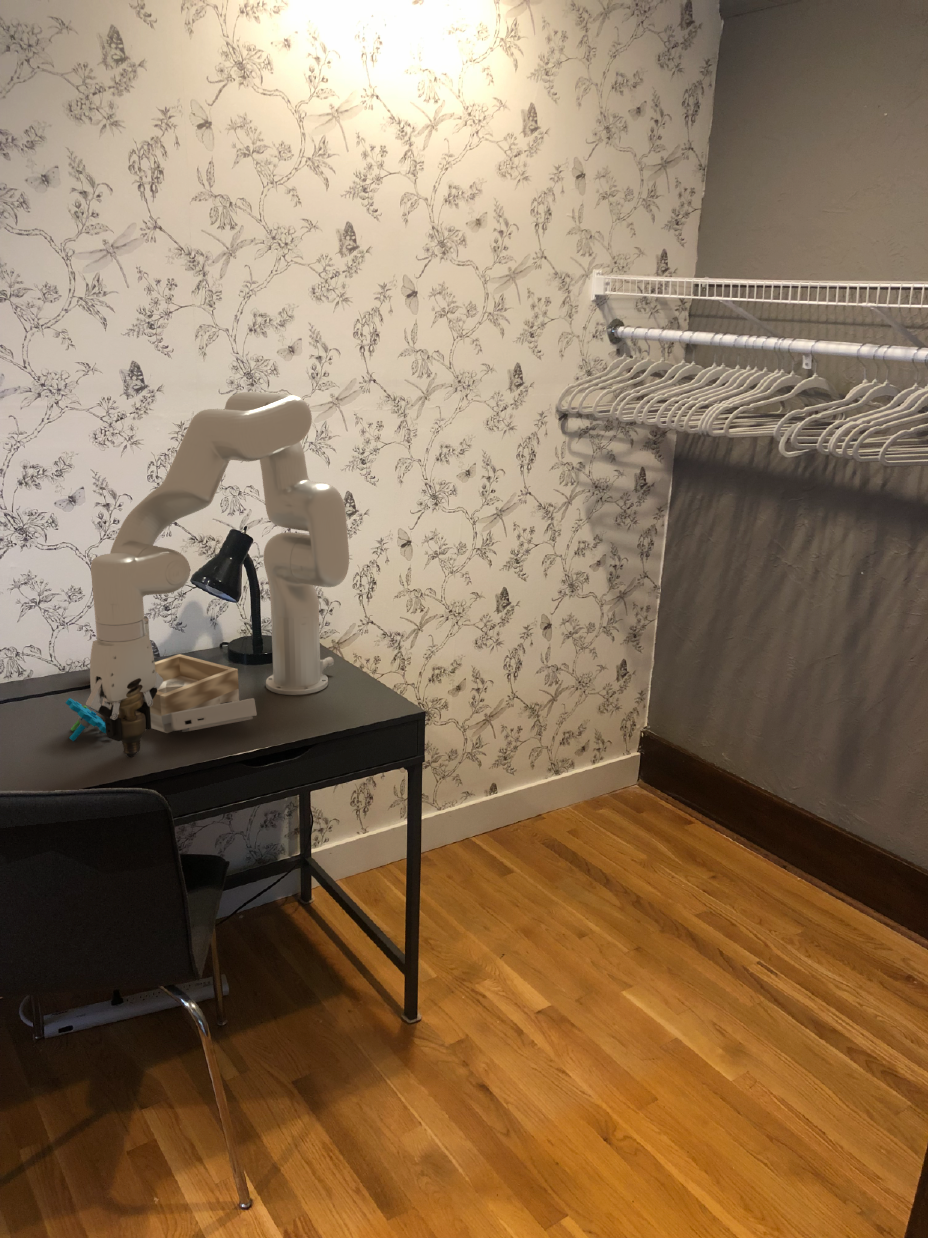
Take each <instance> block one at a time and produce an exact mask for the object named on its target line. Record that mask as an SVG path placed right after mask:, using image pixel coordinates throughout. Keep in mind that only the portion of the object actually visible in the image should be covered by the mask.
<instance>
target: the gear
mask: <svg viewBox="0 0 928 1238" xmlns="http://www.w3.org/2000/svg"><path fill="white" fill-rule="evenodd" d="M64 703H65V705H68V708H69V709H70V710H72V711H73V712H75V713H77V720H76V722H75V723H74V724H73V726H72V727H71V728H70V730H71V732H72V734H71V735H70V736H69V739H70V740H71V741H72V742H75V741H76V740H77V738H78V737H79V736H80V735H81V734H82V732H83V731H84V730H85V729H88V728H89V727H90V726H92V727H94V728H95V727H97V728H98V730H99V731H101V732H102V733H104V734H106V727H105V720H103V719H102V718H101V717H100V716H99V715H97V712H96V711H95V710H91V709H89V707H87V706H86V705H82V704H81V703H79V702H78V701H75V700H74V699H72V698H70V697H69V698H68V699H67V700H66V701H65V702H64Z"/></svg>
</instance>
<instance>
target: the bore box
mask: <svg viewBox="0 0 928 1238" xmlns="http://www.w3.org/2000/svg"><path fill="white" fill-rule="evenodd" d="M154 662H155V671H156V672H157V673H158V674H159V675H160V676H161V677H162V678H163V683H162V684H161V686H160V687H159V689H157V693H156V695H155V697H154V698H153V704H152V706H150V715H151V729H154V730H157V731H160V732H162V733H166V734H169V733H170V732H165V731H164V729H163V723H162V717H161V716H162V715H165V714H169V713H173V712H179V711H184V710H190V709H195V708H201V707H207V706H212V705H218V704H220V703H225V702H231V701H232V702H234V701H240V691H239V687H240V686H239V669H238V668H234V667H231V666H227V665H223V664H219V663H215V662H212V661H208V660H203V659H201V658H196V657H192V656H188V655H185V654H180V653H178V654H175V655H172V656H169V657H167V658H164V659H160V660H158V661H154ZM110 710H111V703H110ZM118 714H119V711H118Z"/></svg>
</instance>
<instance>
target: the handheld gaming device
mask: <svg viewBox="0 0 928 1238" xmlns="http://www.w3.org/2000/svg"><path fill="white" fill-rule="evenodd" d="M255 701H256V700H255V698H253V697H252V698H247V699H246V698H245V699H242V700H240V699H239V701H234V702H232V701H231V702H225V703H220V704H218V705H212V706H207V707H201V708H195V709H190V710H184V711H179V712H173V713H169V714H165V715H162V716H161V717H162V723H163V729H164V731H165V732H169V733H171V732H175V731H181V730H182V731H181V732H182V733H186V732H191V731H195V730H202V729H206V728H211V727H216V726H217V727H218V726H222V725H223V726H224V725H227V724H232V723H238V722H243V721H249V720H253V719H254V718H253V717H255V716H257V714H258V713H257V708H256V702H255ZM165 732H164V733H165Z"/></svg>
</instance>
